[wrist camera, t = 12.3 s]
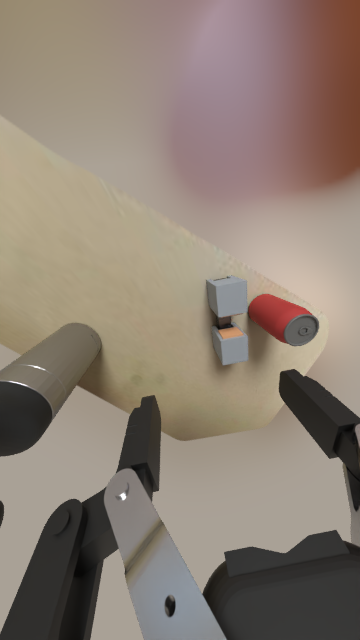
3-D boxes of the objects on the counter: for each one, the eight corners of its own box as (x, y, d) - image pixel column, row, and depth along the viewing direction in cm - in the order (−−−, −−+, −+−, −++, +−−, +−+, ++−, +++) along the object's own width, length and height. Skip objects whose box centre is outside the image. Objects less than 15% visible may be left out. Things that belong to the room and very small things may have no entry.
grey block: (213, 347, 40) (222, 365, 34) (211, 324, 38) (220, 339, 31) (235, 343, 40) (248, 360, 34) (233, 320, 38) (247, 334, 31)
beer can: (270, 322, 39) (312, 350, 28) (243, 320, 38) (275, 348, 27) (280, 294, 36) (330, 312, 25) (251, 291, 36) (290, 309, 24)
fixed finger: (209, 307, 36) (218, 319, 30) (206, 280, 34) (215, 286, 27) (232, 303, 36) (247, 314, 30) (231, 275, 34) (246, 280, 27)
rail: (219, 346, 40) (221, 351, 38) (213, 280, 34) (215, 281, 32) (229, 345, 40) (232, 349, 38) (224, 278, 34) (228, 279, 32)
